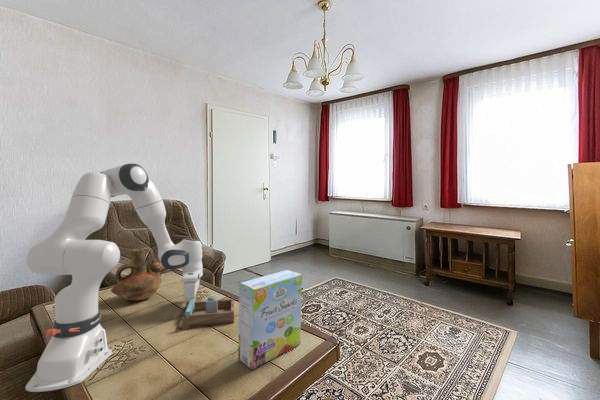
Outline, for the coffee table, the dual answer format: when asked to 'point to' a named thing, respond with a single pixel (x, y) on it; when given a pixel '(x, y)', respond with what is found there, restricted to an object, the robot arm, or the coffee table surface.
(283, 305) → the snack box
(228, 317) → the brown wooden tray
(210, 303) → the jaw block
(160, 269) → the ceramic vessel
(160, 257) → the robot arm
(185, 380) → the coffee table surface
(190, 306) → the retainer bar
